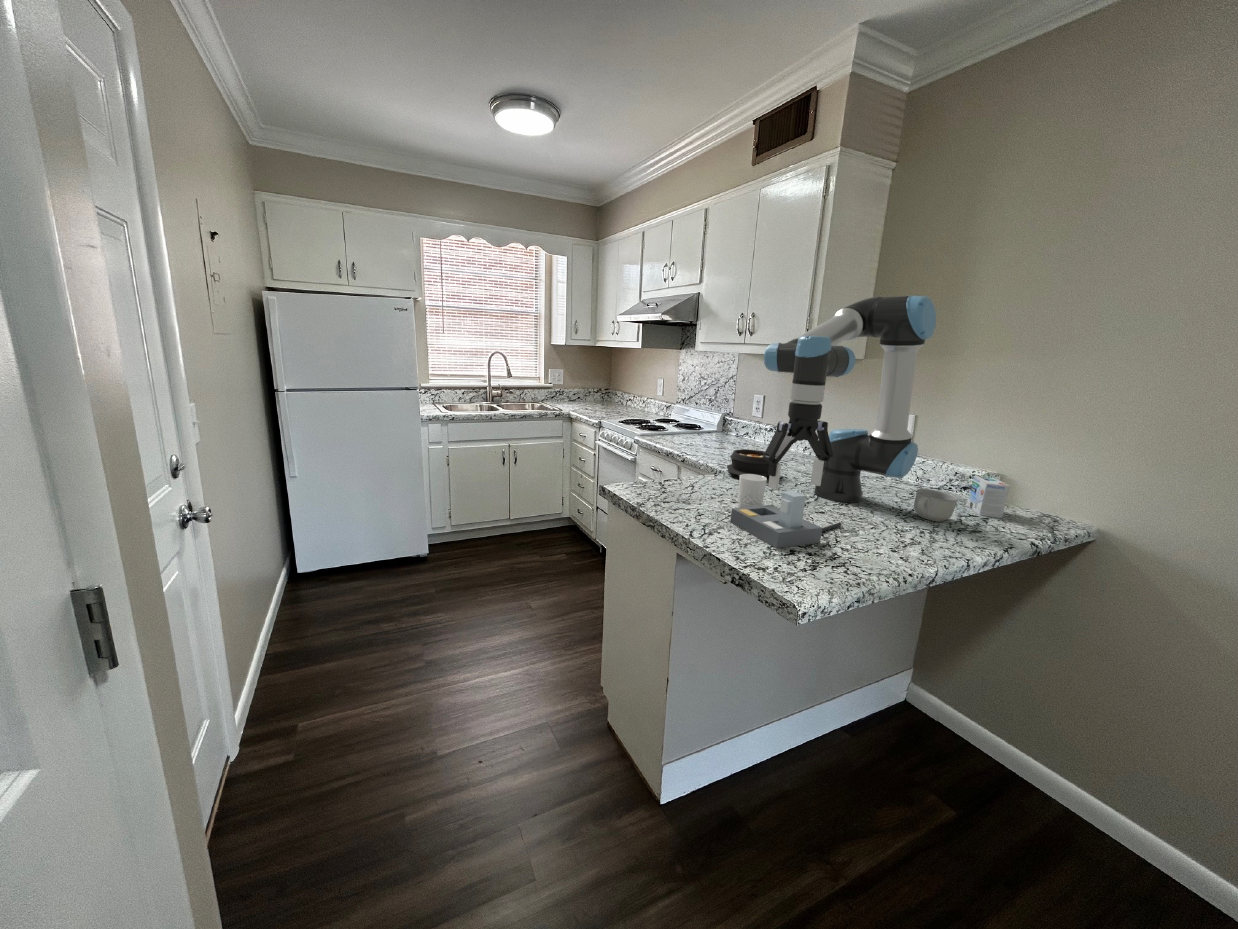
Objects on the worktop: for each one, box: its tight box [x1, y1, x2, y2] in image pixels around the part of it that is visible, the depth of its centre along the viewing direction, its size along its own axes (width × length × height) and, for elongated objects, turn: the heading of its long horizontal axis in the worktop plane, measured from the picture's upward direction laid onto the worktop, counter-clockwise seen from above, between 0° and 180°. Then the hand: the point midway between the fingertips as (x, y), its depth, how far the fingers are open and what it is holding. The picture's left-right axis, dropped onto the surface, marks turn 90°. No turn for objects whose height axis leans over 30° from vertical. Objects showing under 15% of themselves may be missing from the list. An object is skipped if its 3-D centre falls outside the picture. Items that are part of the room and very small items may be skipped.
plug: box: [778, 490, 807, 529], centre depth 129 cm, size 5×4×12 cm
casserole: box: [726, 448, 770, 478], centre depth 197 cm, size 25×19×8 cm
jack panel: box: [729, 504, 823, 549], centre depth 135 cm, size 14×19×4 cm
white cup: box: [737, 474, 768, 508], centre depth 152 cm, size 8×8×10 cm
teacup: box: [913, 488, 959, 522], centre depth 154 cm, size 14×11×8 cm
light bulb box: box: [966, 475, 1011, 519], centre depth 165 cm, size 11×7×11 cm, turn 165°
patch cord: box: [822, 521, 842, 533], centre depth 138 cm, size 16×1×1 cm, turn 128°
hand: (794, 486), depth 128 cm, fingers open, 13 cm apart
